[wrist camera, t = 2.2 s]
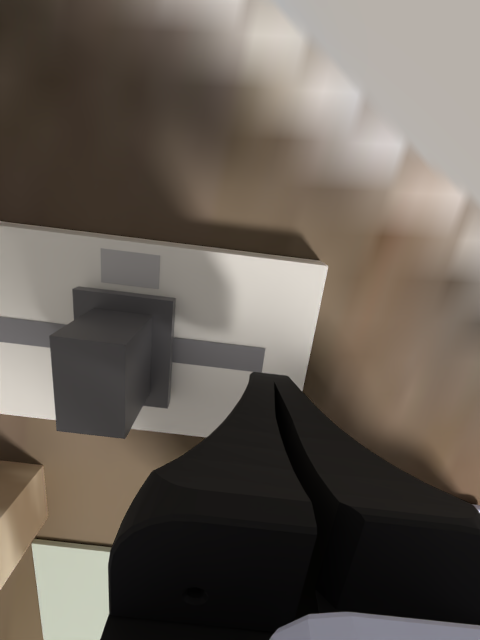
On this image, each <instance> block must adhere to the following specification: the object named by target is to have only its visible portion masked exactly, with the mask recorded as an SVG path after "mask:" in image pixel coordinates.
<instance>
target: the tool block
mask: <svg viewBox="0 0 480 640" xmlns="http://www.w3.org/2000/svg"><path fill="white" fill-rule="evenodd" d="M47 518H48V508H47V498H46V488H45V478H44V468H43V465H37V464H29V463H20V462H11V461H2V460H0V590H1V588H2V586H3V585H4V583H5V582H6V580H7V579H8V577H9V576H10V574H11V573H12V571H13V570H14V568H15V567H16V565H17V564H18V562H19V561H20V559H21V558H22V556H23V554H24V553H25V551H26V550H27V548H28V547H29V545H30V544H31V542H32V541H33V539H34V538H35V536H36V535H37V533H38V532H39V530H40V529H41V527H42V526H43V524H44V522H45V521H46V519H47Z"/></svg>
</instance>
